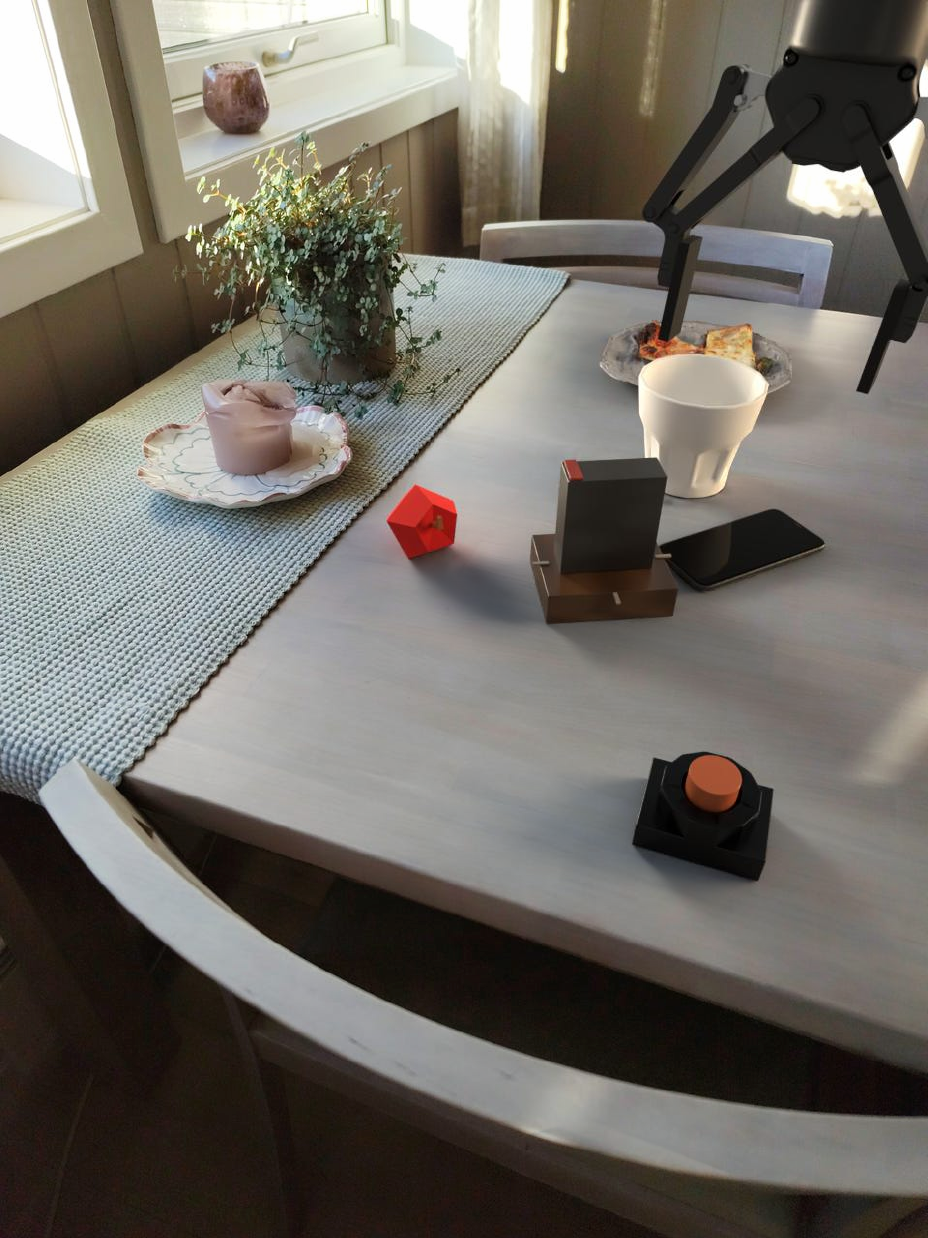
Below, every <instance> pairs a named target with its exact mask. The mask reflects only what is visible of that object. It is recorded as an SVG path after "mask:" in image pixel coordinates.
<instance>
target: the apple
mask: <svg viewBox="0 0 928 1238" xmlns="http://www.w3.org/2000/svg"><path fill="white" fill-rule="evenodd" d="M398 502H399V503H398V504H396V506H395V507H394V508H393V510H392V511H391V512H390V514H388V516H387V518H386V523H387V524H388V527H389V528H390V530H391V531H392V534H393V535H394V537H395V539H396V540H397V542H398V544H399V546H400V548H401V550H402V551H403V552H404V554H405V556H406V558H407V560H409V559H412V558H416V557H420V556H423V555H426V554H429V553H432V552H435V551H438V550H441V549H444V548H445V549H446V548H448V547H450V546H452V545H454V544H455V541H456V531H457V521H458V512H457V508H456V505H455V501H454V500H452V499H450V498H447V497H445V496H443V495H441V494H438V493H436V492H434V491H431V490H429V489H427V488H425V487H422V486H420V485H418V484H414V485H413V486H412V487H411V488H410V489H409V490H408V491H407V492H406V493H405V495H404V496H403V497H402V498H401V499H400V501H398Z"/></svg>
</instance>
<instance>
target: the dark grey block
mask: <svg viewBox="0 0 928 1238" xmlns="http://www.w3.org/2000/svg"><path fill="white" fill-rule="evenodd" d="M559 470H560V471H559V481H558V483H559V484H558V494H557V506H556V507H557V508H556V518H555V519H556V520H555V530H554V532H555V533H554V534H555V542H554V554H555V558H556V561H557V564H558V568H559V571H560V573H576V572H593V571H610V570H627V569H643V568H652V564H653V558H654V553H655V547H656V542H657V541H658V534H659V530H660V524H661V518H662V513H663V512H662V511H663V505H664V500H665V496H666V495H665V494H666V493H665V489H666V483H667V478H668V477H667V475H666V473H665V471H664V470H663V468H662V466H661V464H660V462H659V460H658V458H657V457H653V458H645V457H634V458H615V459H596V460H595V459H594V460H593V459H591V460H577V459H563V461H561V462H560V469H559Z"/></svg>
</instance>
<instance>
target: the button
mask: <svg viewBox="0 0 928 1238" xmlns="http://www.w3.org/2000/svg"><path fill="white" fill-rule="evenodd" d="M741 782H742V777H741V774H740V771H739V770H738V768H737V767H736V766H735V765H734V764H733V763H732V762H730V761H729V760H727V759H725V758H722V757H719V756H713V755H707V756H702V757H699V758H697V759H696V760H694V761H693V762H692V764H691V765H690V768H689V772H688V776H687V780H686V784H685V792H686V795H687V797H688V799H689V800H690V801H691V802H692V803H693V804H694V805H695V806H697V807H698V808H700V809H702V810H705V811H709V812H723V811H726V810H728V809H730V808H731V807H732V806H733V805H734V804H735V801H736V798H737V795H738V792H739V789H740V786H741Z"/></svg>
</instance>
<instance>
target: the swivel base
mask: <svg viewBox="0 0 928 1238" xmlns="http://www.w3.org/2000/svg"><path fill="white" fill-rule="evenodd" d="M554 542H555V533H544V534H542V533H541V534H531V539H530V556H529V563H530V567H531V571H532V575H533V579H534V582H535V586H536V590H537V595H538V597H539V601H540V605H541V609H542V612H543V617H544V620H545V623H546V625H550V624H564V623H565V624H566V623H580V622H581V623H582V622H597V621H613V620H627V619H629V620H630V619H643V618H658V617H659V618H661V617H672V616H674V612H675V607H676V602H677V598H678V593H679V586H678V585H677V583H676V580H675V578H674V576H673V574H672V571H671V569H670V566H669V565H668V564H667V563H666V561H665V559H664V558H671V554H662V552H661V550H660V548H659V543H658V542H657V541H656V547H655V553H654V558H653V564H652V568H643V569H627V570H610V571H593V572H576V573H560V571H559V568H558V564H557V561H556V558H555V554H554Z"/></svg>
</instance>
